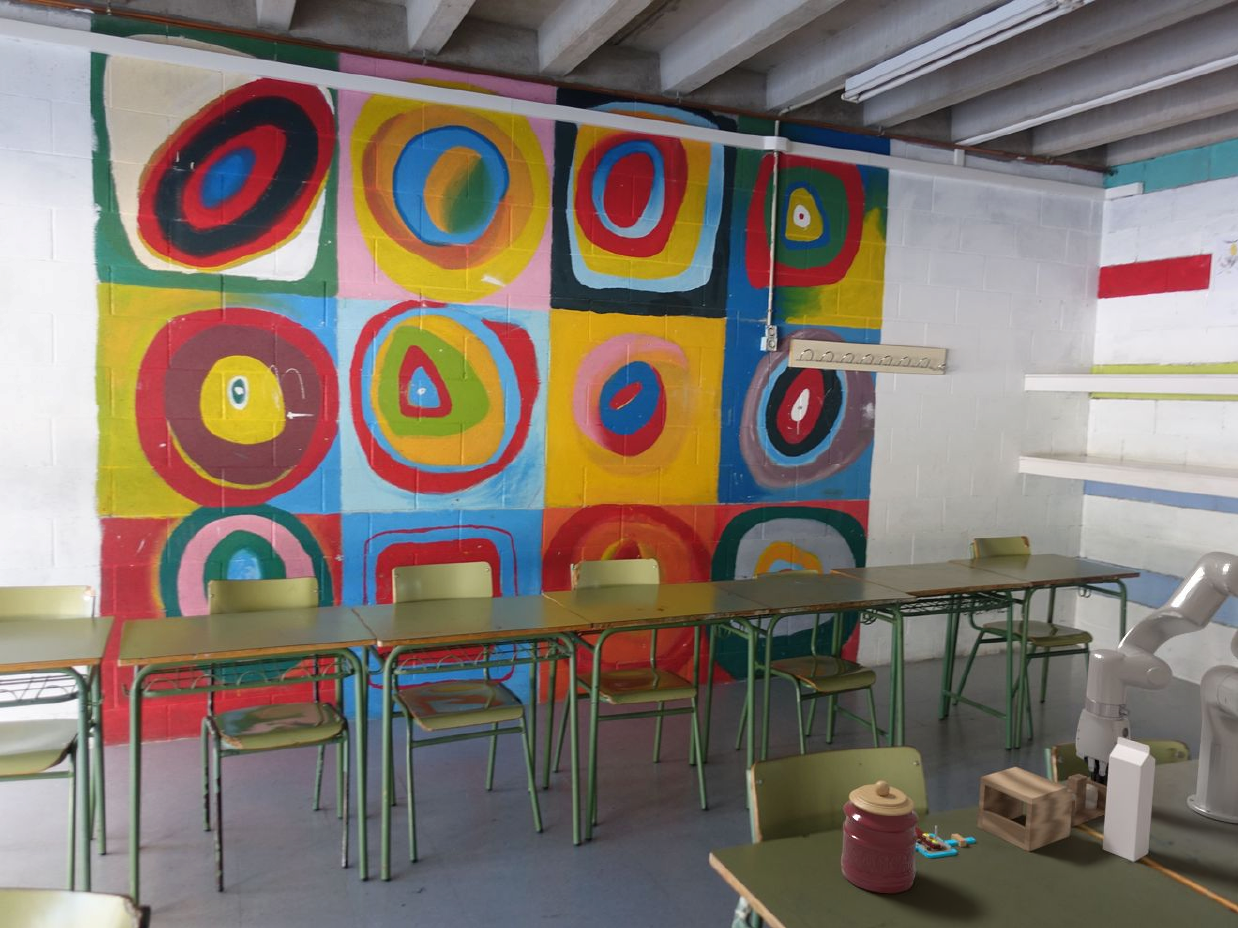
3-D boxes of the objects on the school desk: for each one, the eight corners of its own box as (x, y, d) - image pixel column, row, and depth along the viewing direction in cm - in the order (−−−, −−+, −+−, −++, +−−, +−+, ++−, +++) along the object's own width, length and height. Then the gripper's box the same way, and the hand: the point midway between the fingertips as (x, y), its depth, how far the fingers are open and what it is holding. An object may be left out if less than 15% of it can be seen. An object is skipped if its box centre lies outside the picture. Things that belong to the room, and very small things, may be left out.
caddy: (1079, 800, 205) (1081, 765, 205) (1110, 813, 199) (1112, 776, 199) (1039, 813, 198) (1042, 776, 197) (1070, 827, 192) (1073, 789, 191)
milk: (1133, 862, 178) (1142, 749, 176) (1101, 849, 183) (1110, 739, 181) (1148, 853, 181) (1157, 743, 180) (1116, 840, 186) (1124, 733, 184)
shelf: (1018, 813, 197) (1021, 764, 197) (1069, 835, 188) (1073, 784, 187) (977, 827, 190) (980, 776, 189) (1028, 851, 180) (1032, 798, 180)
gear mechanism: (869, 842, 183) (897, 865, 174) (871, 815, 183) (899, 837, 174) (955, 831, 189) (987, 853, 180) (957, 805, 189) (988, 826, 180)
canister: (825, 865, 172) (830, 772, 171) (882, 853, 178) (887, 763, 176) (871, 900, 161) (876, 801, 159) (930, 887, 166) (936, 790, 164)
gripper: (1149, 715, 197) (1142, 800, 199) (1082, 695, 210) (1076, 774, 211) (1129, 721, 193) (1122, 807, 195) (1062, 699, 206) (1056, 780, 207)
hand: (1098, 790), depth 203 cm, fingers closed
